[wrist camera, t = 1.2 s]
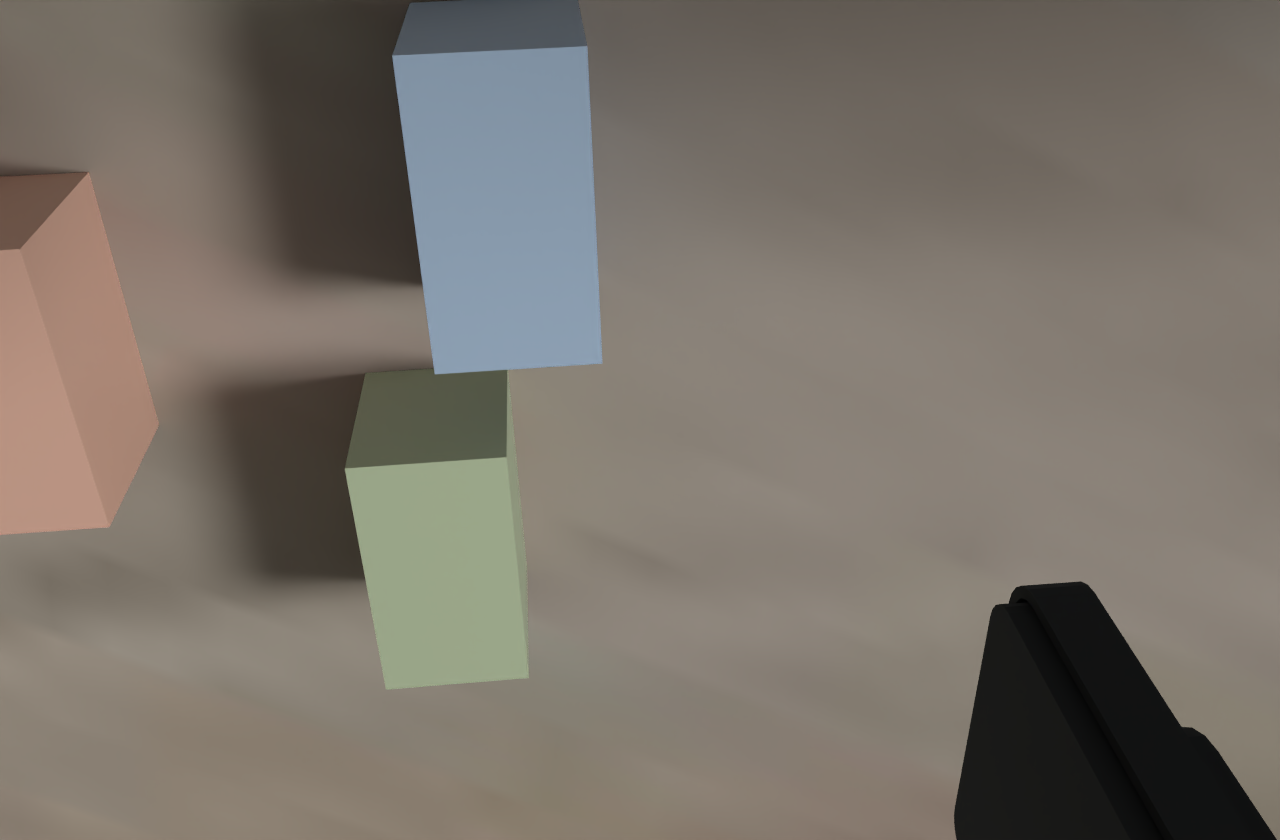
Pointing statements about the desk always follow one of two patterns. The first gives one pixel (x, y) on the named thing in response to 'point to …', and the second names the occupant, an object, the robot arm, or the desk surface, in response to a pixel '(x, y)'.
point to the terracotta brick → (64, 362)
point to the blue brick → (501, 181)
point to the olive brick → (440, 526)
